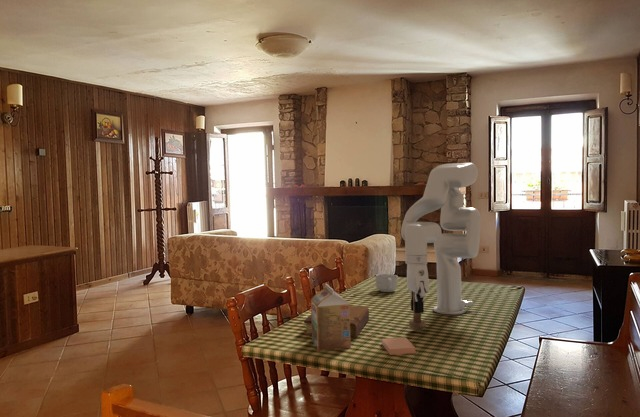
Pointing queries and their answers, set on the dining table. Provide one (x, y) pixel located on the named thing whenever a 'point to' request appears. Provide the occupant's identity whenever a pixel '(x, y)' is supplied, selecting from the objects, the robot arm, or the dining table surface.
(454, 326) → the dining table surface
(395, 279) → the teacup
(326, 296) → the milk carton
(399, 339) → the tile
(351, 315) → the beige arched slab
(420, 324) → the post
